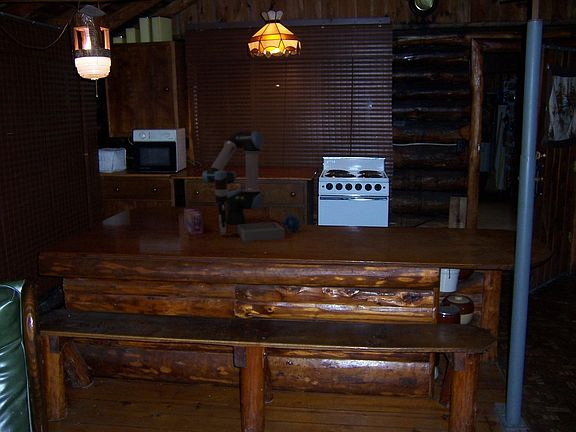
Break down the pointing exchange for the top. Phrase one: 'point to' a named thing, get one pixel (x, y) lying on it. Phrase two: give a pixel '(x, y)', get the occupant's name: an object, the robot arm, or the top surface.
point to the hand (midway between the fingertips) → (222, 231)
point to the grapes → (291, 223)
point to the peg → (220, 225)
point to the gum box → (193, 220)
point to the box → (261, 231)
